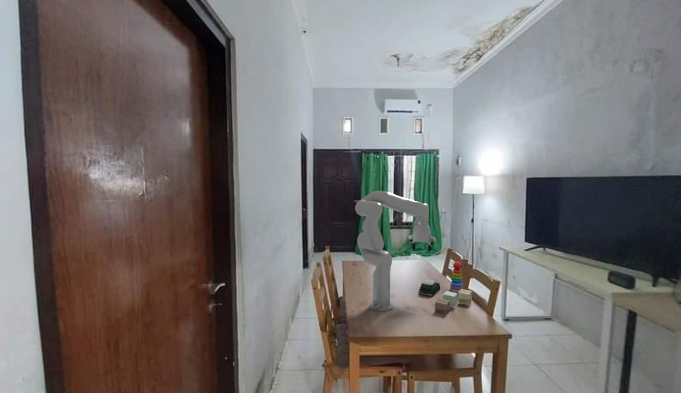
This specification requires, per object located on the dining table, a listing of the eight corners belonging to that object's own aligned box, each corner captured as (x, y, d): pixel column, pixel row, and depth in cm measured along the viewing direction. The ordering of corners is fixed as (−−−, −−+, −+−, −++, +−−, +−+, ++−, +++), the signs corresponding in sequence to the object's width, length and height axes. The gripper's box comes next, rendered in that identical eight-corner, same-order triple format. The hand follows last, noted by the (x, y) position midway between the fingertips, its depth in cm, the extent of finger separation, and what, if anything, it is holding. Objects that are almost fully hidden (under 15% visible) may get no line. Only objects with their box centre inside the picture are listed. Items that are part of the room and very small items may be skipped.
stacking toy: (461, 294, 187) (462, 264, 186) (448, 291, 192) (448, 262, 191) (464, 290, 194) (464, 261, 193) (451, 287, 198) (451, 259, 197)
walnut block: (446, 315, 158) (446, 304, 158) (434, 312, 162) (435, 301, 161) (449, 311, 163) (449, 300, 163) (438, 309, 167) (438, 298, 166)
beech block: (469, 305, 170) (469, 294, 169) (458, 302, 173) (458, 292, 173) (471, 301, 174) (471, 291, 174) (460, 299, 178) (460, 289, 178)
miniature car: (441, 289, 196) (441, 277, 195) (432, 299, 181) (432, 285, 180) (427, 287, 201) (427, 275, 200) (417, 295, 186) (417, 282, 185)
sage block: (454, 307, 167) (454, 296, 166) (443, 304, 170) (443, 294, 170) (457, 303, 171) (457, 293, 171) (446, 301, 175) (446, 291, 175)
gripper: (406, 223, 191) (406, 250, 191) (434, 225, 181) (433, 253, 182) (410, 221, 197) (410, 248, 198) (437, 223, 187) (437, 251, 188)
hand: (421, 250), depth 190 cm, fingers open, 9 cm apart
